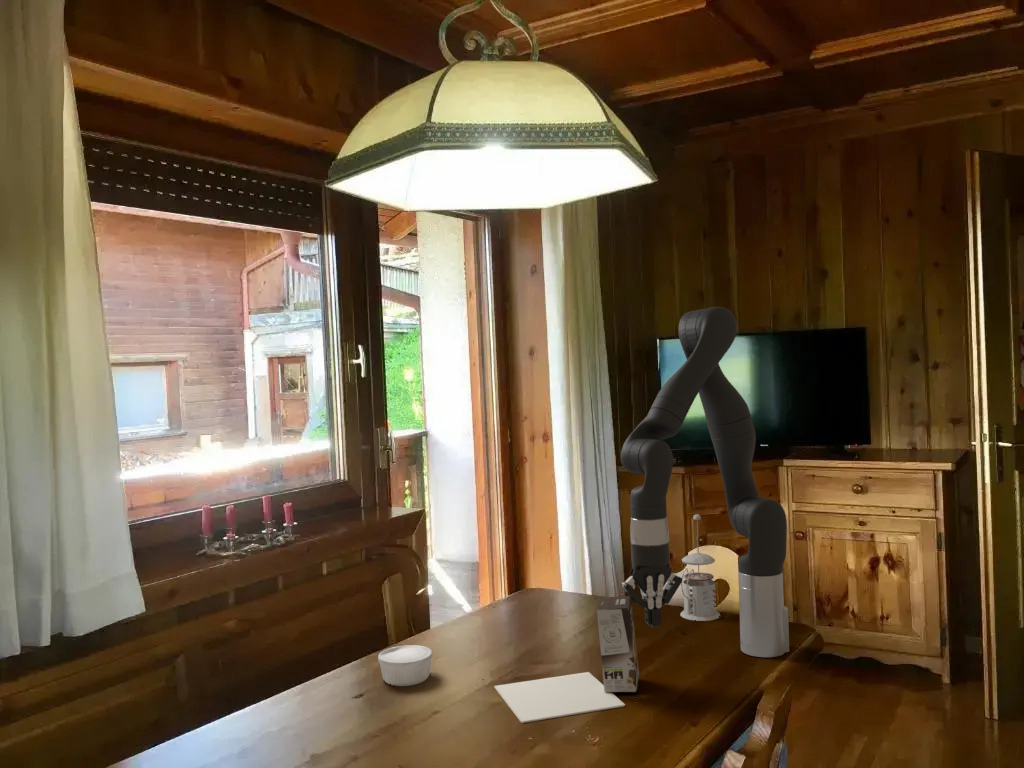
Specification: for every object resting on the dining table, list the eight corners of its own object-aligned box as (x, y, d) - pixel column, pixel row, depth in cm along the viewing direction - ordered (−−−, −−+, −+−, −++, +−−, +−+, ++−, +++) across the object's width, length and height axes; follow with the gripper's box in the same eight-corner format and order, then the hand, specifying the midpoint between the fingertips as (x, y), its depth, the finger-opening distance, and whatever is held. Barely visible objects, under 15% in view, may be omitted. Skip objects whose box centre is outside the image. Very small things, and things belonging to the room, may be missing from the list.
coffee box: (637, 692, 162) (629, 607, 162) (603, 693, 164) (595, 609, 163) (640, 674, 171) (632, 594, 171) (608, 675, 173) (599, 596, 172)
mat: (588, 673, 175) (588, 671, 175) (625, 706, 158) (624, 704, 158) (494, 687, 169) (494, 685, 169) (521, 723, 152) (521, 721, 152)
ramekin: (401, 665, 184) (400, 641, 184) (444, 673, 178) (443, 648, 178) (367, 683, 174) (366, 658, 174) (412, 692, 169) (410, 665, 169)
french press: (728, 613, 212) (724, 513, 212) (703, 625, 204) (700, 520, 203) (693, 606, 219) (690, 509, 218) (668, 617, 210) (664, 516, 210)
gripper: (671, 532, 175) (674, 616, 175) (611, 539, 171) (614, 624, 172) (689, 539, 167) (692, 627, 168) (626, 547, 164) (630, 636, 164)
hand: (653, 625), depth 170 cm, fingers closed
